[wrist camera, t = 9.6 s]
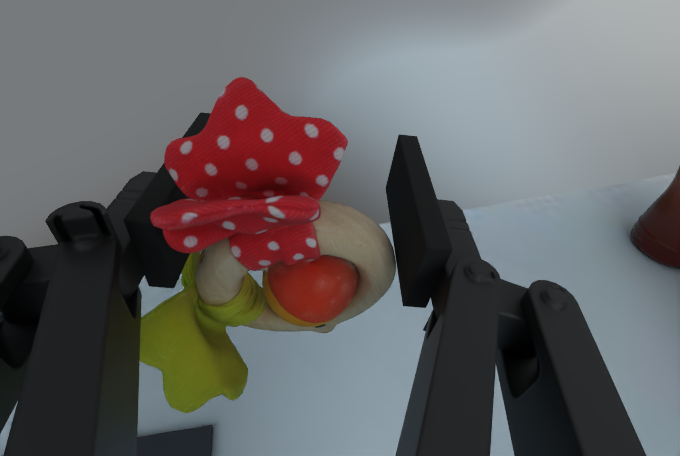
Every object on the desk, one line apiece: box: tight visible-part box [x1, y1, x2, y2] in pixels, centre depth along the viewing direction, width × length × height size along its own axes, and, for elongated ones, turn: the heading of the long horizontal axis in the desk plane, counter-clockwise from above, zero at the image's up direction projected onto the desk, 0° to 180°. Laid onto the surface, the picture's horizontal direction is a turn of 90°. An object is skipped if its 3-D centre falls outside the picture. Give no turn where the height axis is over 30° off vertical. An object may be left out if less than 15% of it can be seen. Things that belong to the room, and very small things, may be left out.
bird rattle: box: [140, 77, 396, 413], centre depth 13 cm, size 6×11×9 cm
